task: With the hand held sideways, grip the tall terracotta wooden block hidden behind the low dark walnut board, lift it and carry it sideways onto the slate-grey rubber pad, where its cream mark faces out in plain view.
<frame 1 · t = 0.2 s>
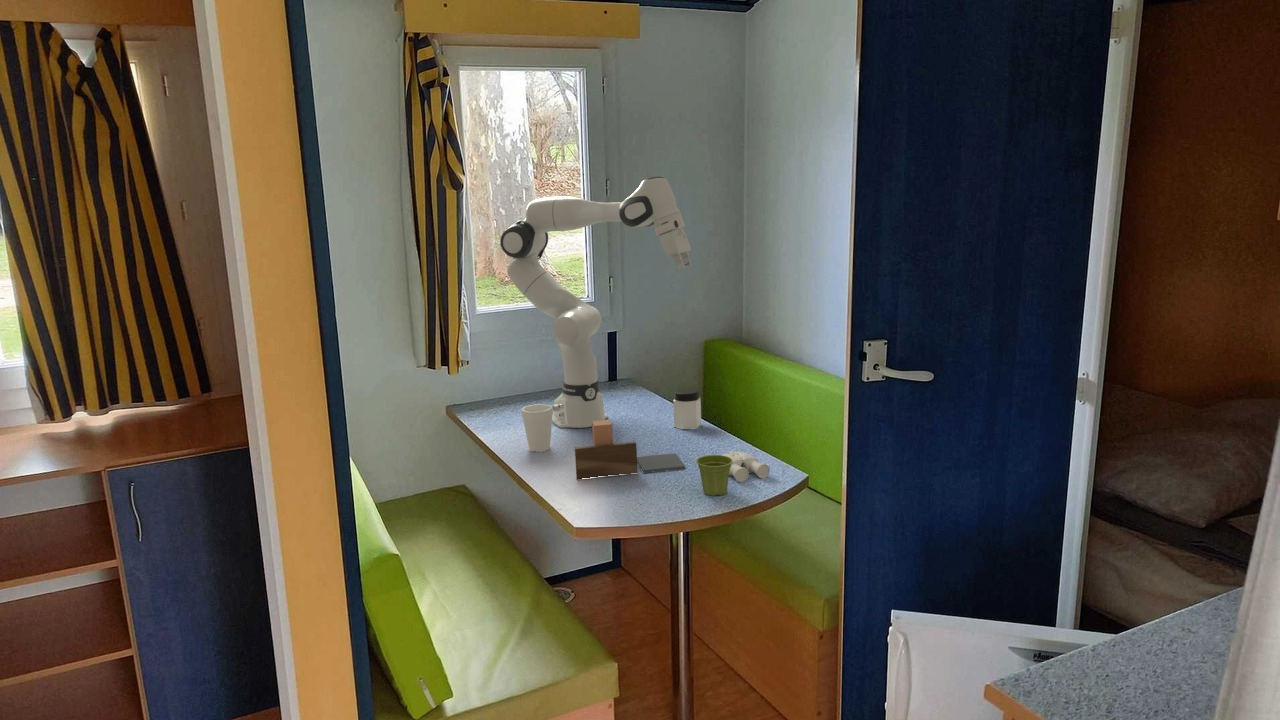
hand: (685, 267, 281), 52 cm above the table, tool tilted 20°, fingers open, 8 cm apart
slate pad: (659, 464, 257), on the table
binoculars: (739, 473, 248), on the table
jar: (687, 426, 292), on the table
plant pot: (715, 492, 233), on the table
marked block: (604, 469, 254), on the table
low board: (607, 476, 249), on the table
foam cup: (539, 449, 276), on the table
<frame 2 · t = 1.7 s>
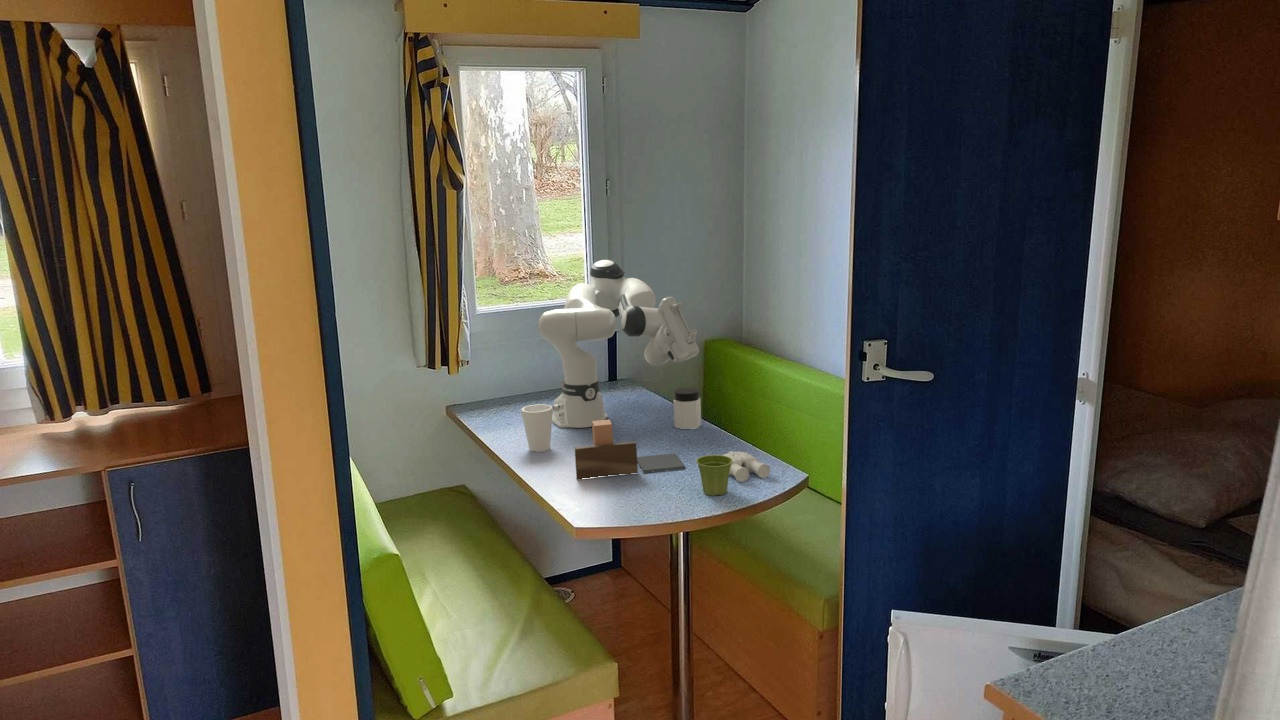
hand: (687, 317, 270), 39 cm above the table, tool pointing upward, fingers open, 8 cm apart
nothing on the table moved.
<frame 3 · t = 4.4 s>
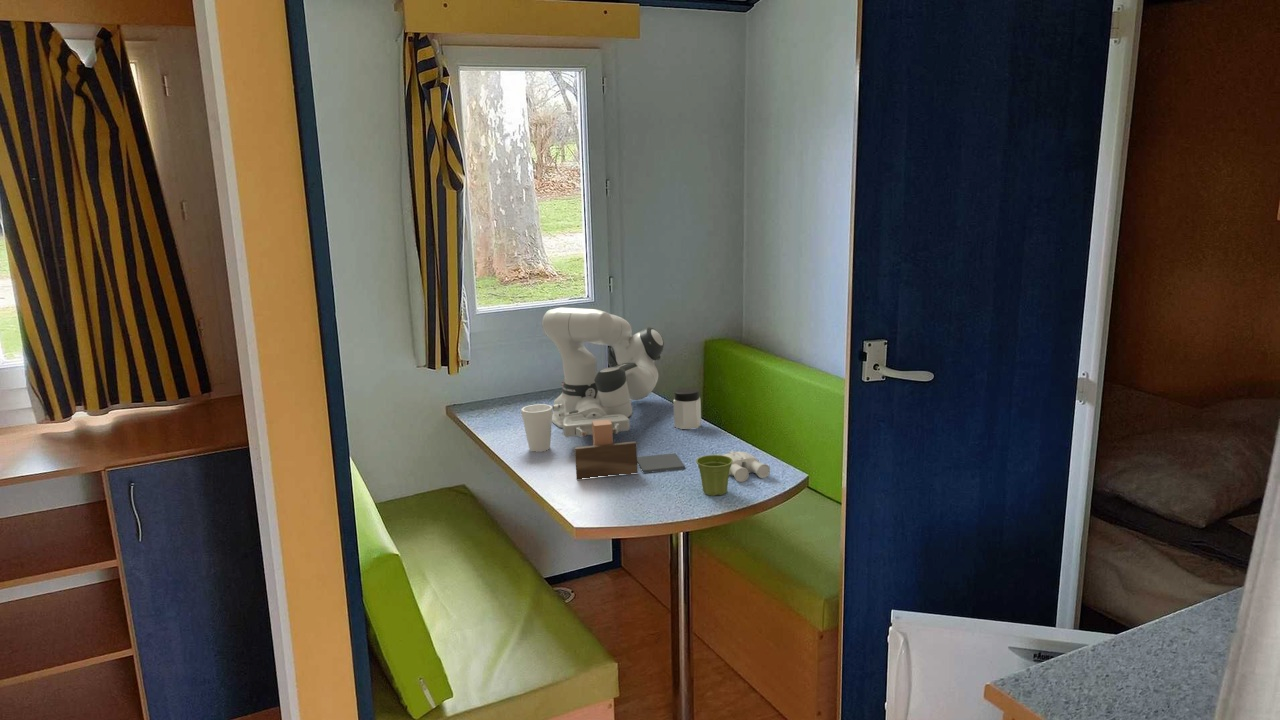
hand: (599, 432, 264), 8 cm above the table, tool horizontal, fingers open, 8 cm apart
nothing on the table moved.
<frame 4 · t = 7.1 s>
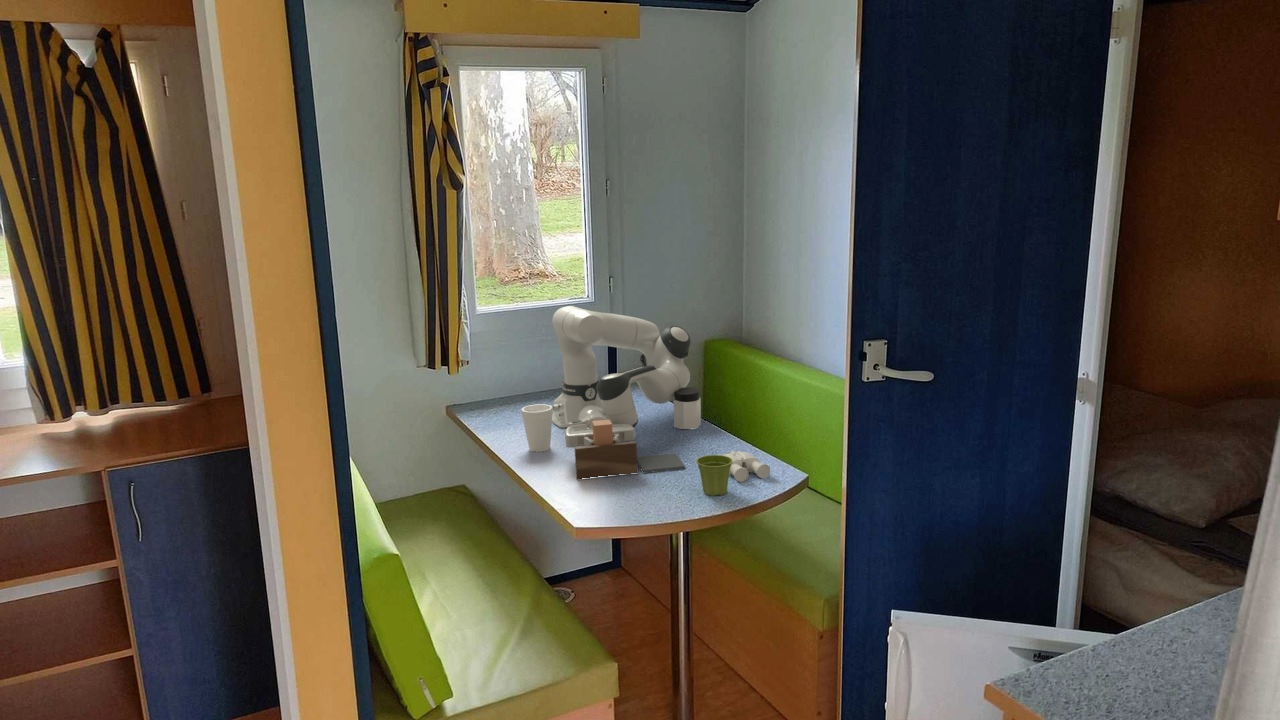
hand: (603, 443, 252), 8 cm above the table, tool horizontal, fingers closed on marked block, 5 cm apart
jar: (687, 426, 292), on the table, touching arm
marked block: (604, 469, 254), on the table, touching gripper
everything else where it was.
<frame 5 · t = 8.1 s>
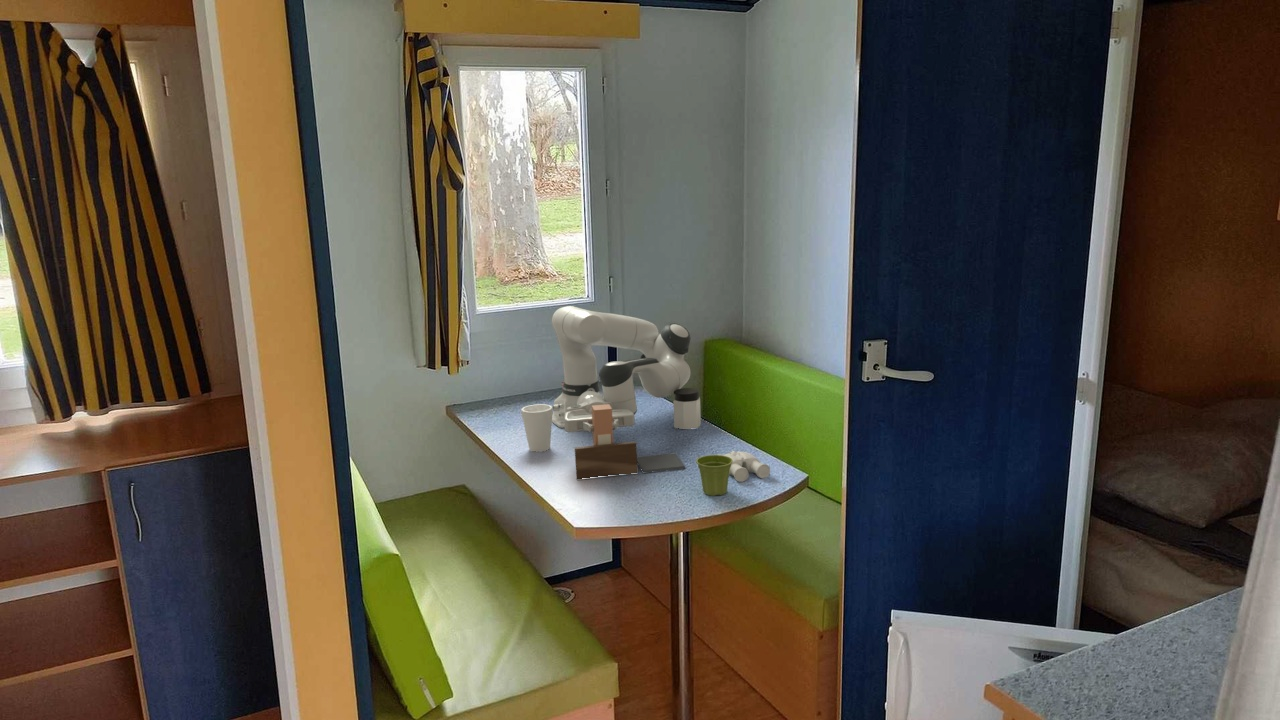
hand: (602, 428, 250), 13 cm above the table, tool horizontal, fingers closed on marked block, 5 cm apart
jar: (687, 427, 292), on the table
marked block: (603, 454, 253), point 5 cm above the table, touching gripper
everything else where it was.
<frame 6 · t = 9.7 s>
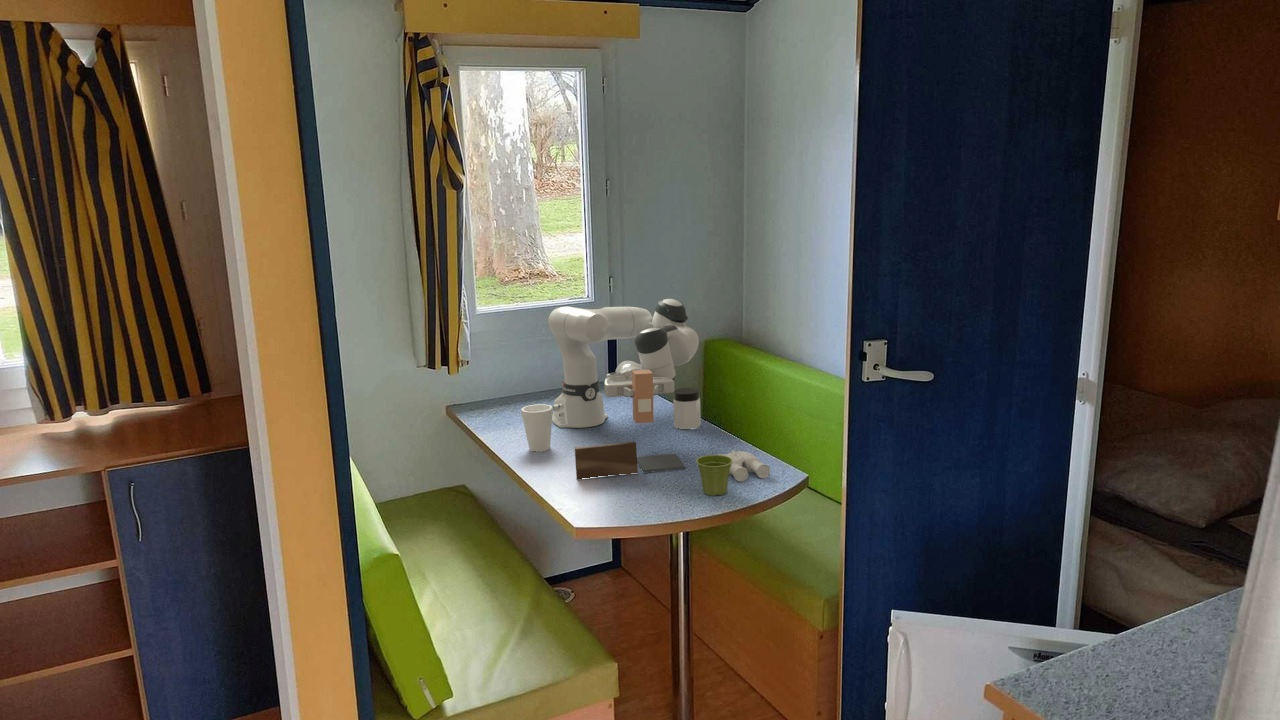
hand: (643, 393, 250), 22 cm above the table, tool horizontal, fingers closed on marked block, 5 cm apart
marked block: (643, 420, 252), point 14 cm above the table, touching gripper
everything else where it was.
when the fingers open (10 cm above the table, at t = 12.7 s): marked block drops 1 cm, resting on slate pad.
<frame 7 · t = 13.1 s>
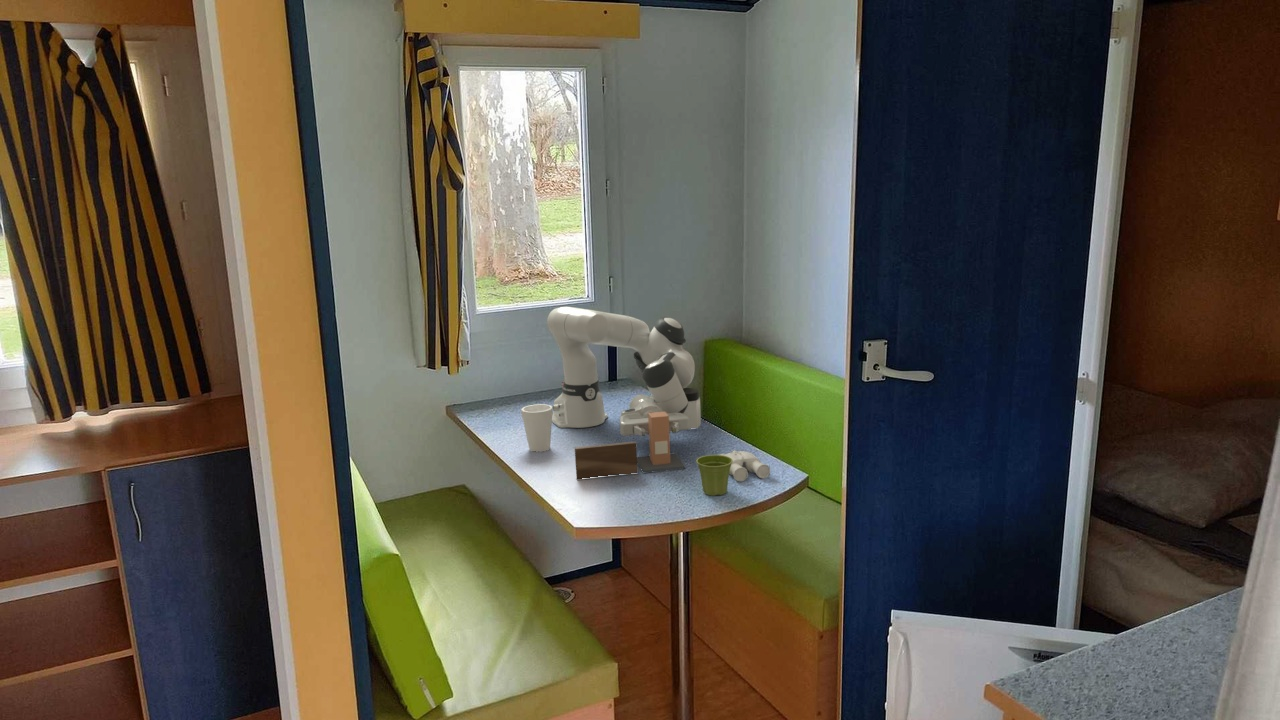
hand: (659, 431, 254), 10 cm above the table, tool horizontal, fingers open, 8 cm apart
marked block: (660, 461, 257), point 1 cm above the table, touching slate pad
everything else where it was.
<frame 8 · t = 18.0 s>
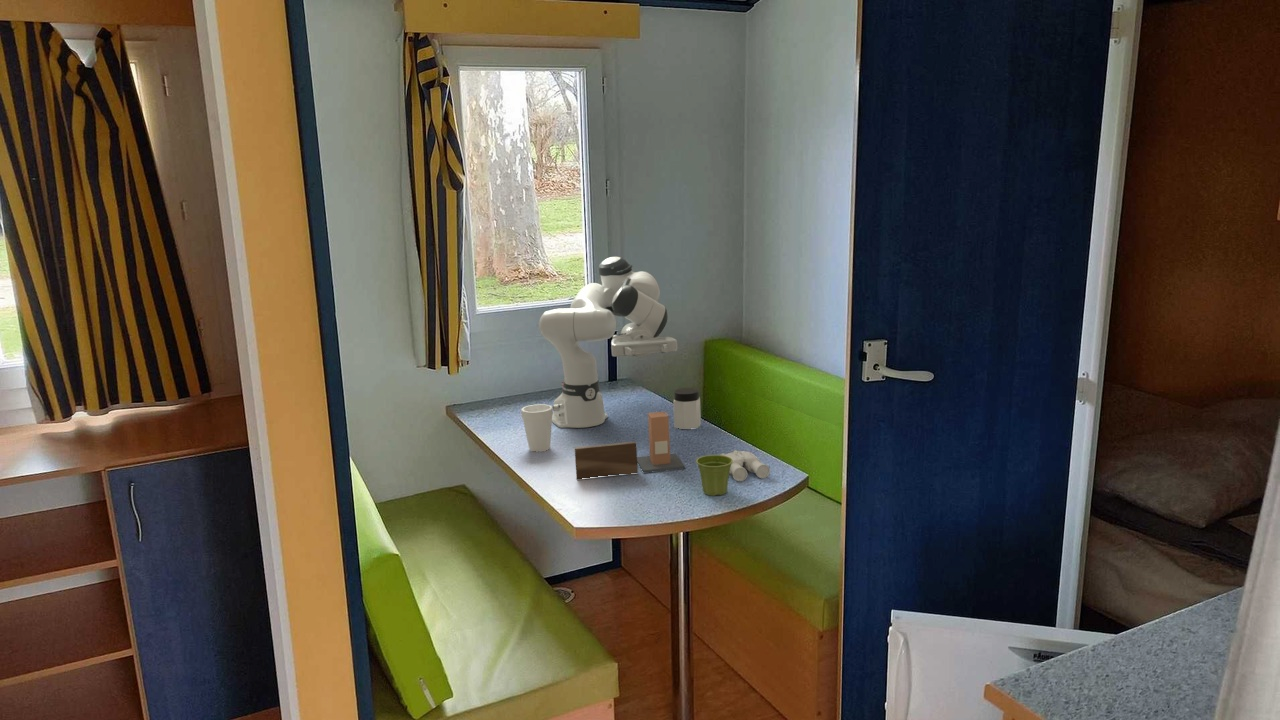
hand: (648, 351, 265), 30 cm above the table, tool horizontal, fingers open, 8 cm apart
nothing on the table moved.
at the end: marked block inside the target area on the slate pad (0.1 cm from its centre), point 0.8 cm above the slate pad's base; marked block tilted 0°; the gripper is holding nothing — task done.
